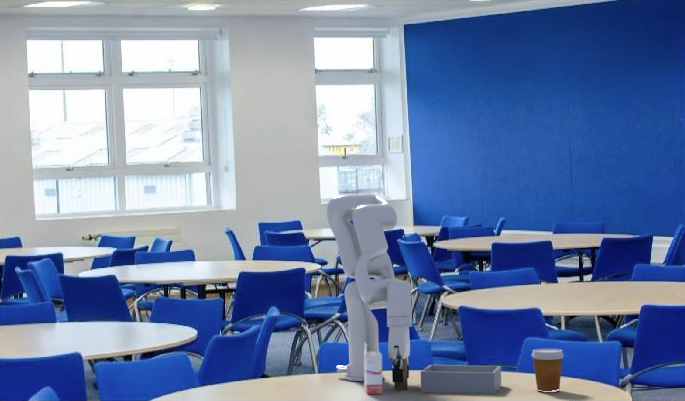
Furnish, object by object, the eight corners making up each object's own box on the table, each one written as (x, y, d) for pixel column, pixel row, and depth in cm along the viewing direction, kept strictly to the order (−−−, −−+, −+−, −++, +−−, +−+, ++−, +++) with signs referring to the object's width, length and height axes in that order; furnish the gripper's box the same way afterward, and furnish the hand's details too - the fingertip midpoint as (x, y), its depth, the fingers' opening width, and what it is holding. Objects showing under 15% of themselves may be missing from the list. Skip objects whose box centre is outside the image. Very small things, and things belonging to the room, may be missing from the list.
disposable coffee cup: (545, 395, 353) (544, 353, 353) (525, 390, 361) (524, 350, 361) (571, 391, 357) (570, 350, 357) (551, 387, 366) (550, 347, 366)
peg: (393, 390, 368) (392, 356, 368) (396, 387, 372) (395, 355, 371) (406, 390, 367) (405, 357, 367) (408, 388, 370) (408, 355, 370)
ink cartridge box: (383, 394, 361) (382, 344, 361) (366, 394, 361) (365, 345, 361) (380, 389, 370) (379, 340, 369) (364, 390, 369) (362, 341, 369)
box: (420, 391, 363) (420, 371, 363) (430, 384, 377) (429, 364, 377) (494, 393, 357) (494, 372, 357) (501, 385, 371) (500, 366, 371)
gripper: (393, 318, 378) (395, 375, 378) (380, 324, 361) (382, 384, 362) (417, 318, 376) (418, 376, 376) (405, 324, 359) (406, 385, 360)
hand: (400, 379), depth 369 cm, fingers open, 7 cm apart
